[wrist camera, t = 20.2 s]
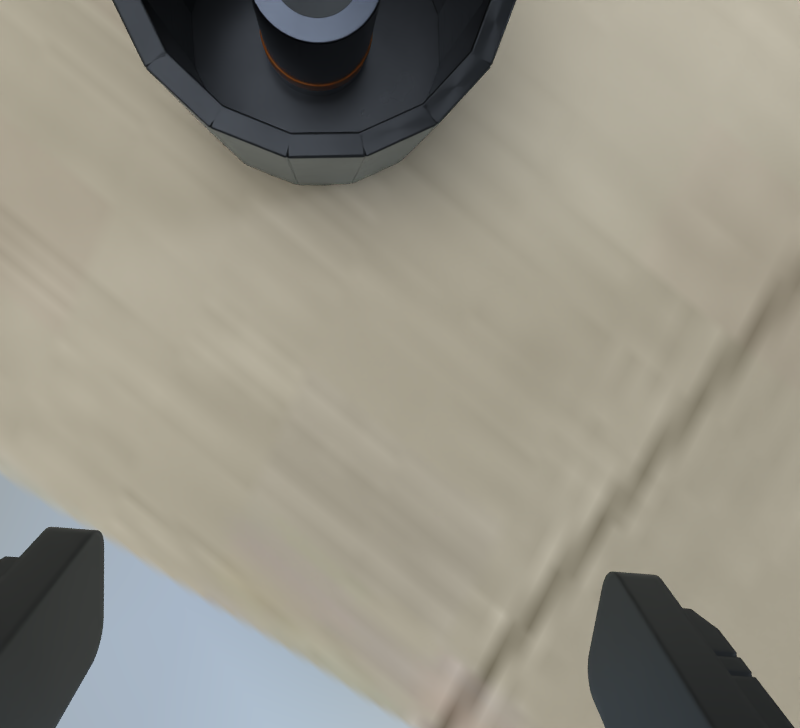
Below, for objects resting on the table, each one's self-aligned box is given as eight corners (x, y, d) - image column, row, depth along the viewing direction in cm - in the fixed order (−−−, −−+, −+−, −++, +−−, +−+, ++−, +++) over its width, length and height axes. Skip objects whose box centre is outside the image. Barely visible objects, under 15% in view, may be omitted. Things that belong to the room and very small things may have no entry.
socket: (307, -37, 32) (302, -144, 23) (390, 37, 33) (415, -39, 24) (242, 49, 32) (212, -24, 23) (326, 120, 33) (328, 75, 24)
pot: (308, -173, 31) (301, -406, 20) (508, 43, 34) (602, -55, 22) (116, 43, 32) (5, -63, 21) (326, 241, 34) (330, 241, 23)
